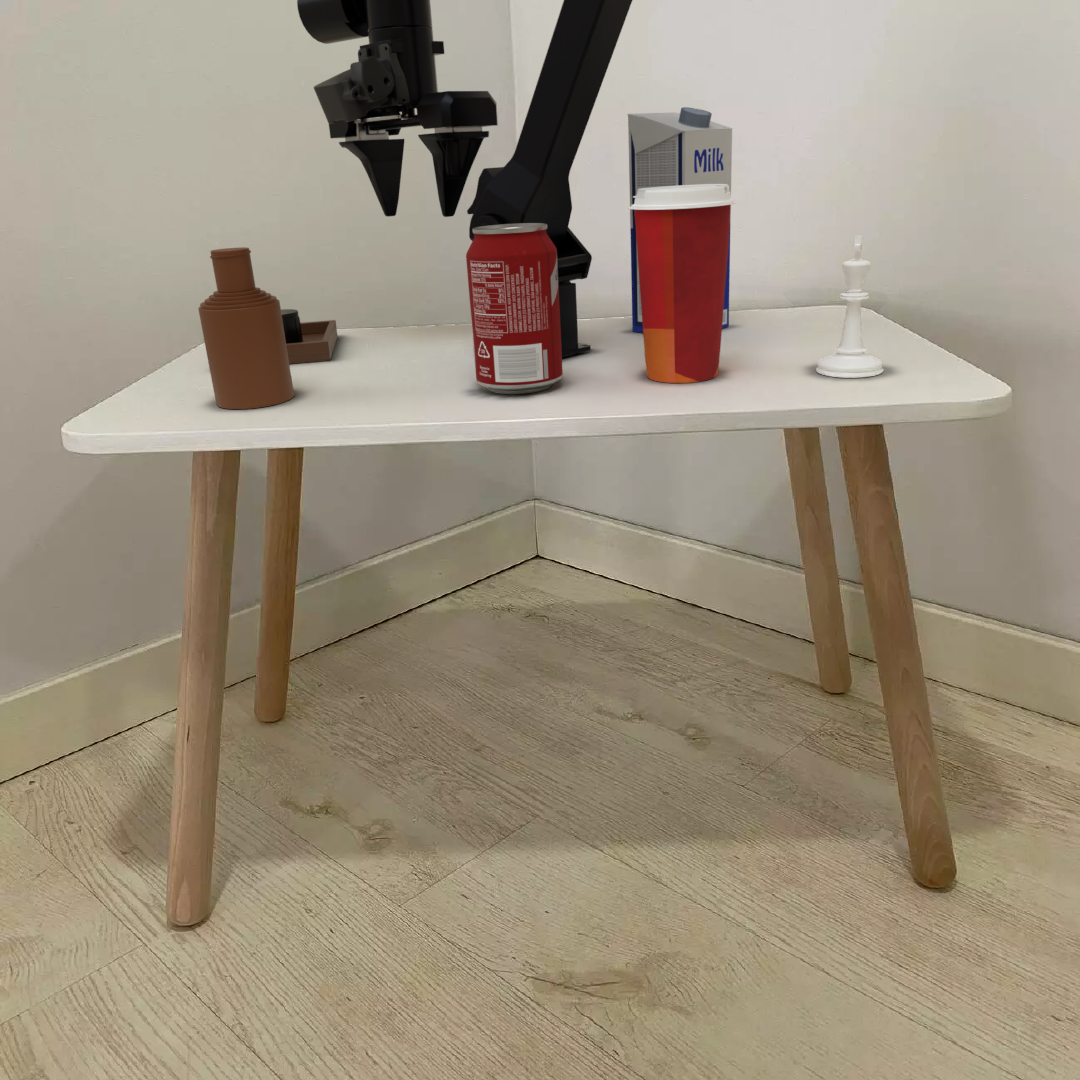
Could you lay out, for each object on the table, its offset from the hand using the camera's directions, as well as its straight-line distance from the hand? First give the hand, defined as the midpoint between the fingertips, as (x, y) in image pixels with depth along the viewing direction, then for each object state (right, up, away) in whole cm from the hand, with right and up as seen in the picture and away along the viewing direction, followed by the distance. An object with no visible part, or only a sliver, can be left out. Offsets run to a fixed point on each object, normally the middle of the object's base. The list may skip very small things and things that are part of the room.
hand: (418, 216), depth 90 cm
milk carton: (+25, -10, +4) cm, 28 cm away
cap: (-14, -11, +4) cm, 19 cm away
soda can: (+10, -19, -16) cm, 26 cm away
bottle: (-11, -20, -15) cm, 27 cm away
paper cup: (+23, -18, -15) cm, 32 cm away
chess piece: (+35, -18, -17) cm, 43 cm away
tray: (-14, -12, +5) cm, 19 cm away
